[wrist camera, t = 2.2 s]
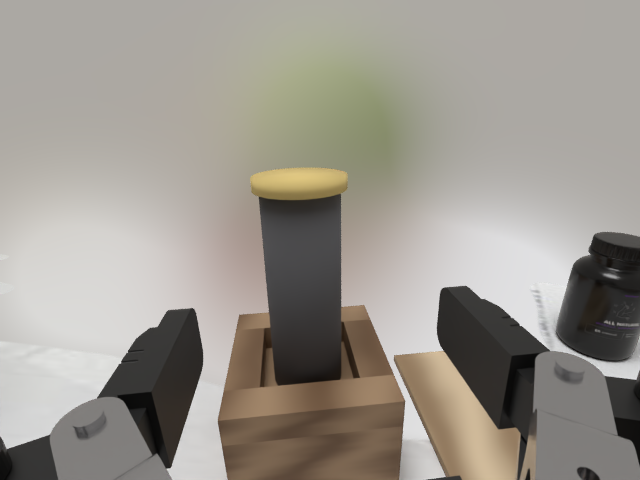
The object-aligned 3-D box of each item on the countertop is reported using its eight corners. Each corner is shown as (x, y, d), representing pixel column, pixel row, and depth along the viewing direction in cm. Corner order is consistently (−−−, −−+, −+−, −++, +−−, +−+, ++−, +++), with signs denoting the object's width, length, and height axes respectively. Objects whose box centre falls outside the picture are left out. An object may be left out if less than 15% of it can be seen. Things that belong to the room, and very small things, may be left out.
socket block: (233, 513, 23) (217, 420, 20) (248, 387, 33) (239, 314, 30) (397, 492, 24) (405, 401, 21) (362, 376, 34) (364, 305, 31)
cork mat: (458, 502, 23) (459, 496, 23) (393, 360, 36) (394, 355, 36) (651, 477, 24) (654, 470, 24) (521, 348, 37) (522, 343, 37)
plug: (254, 370, 26) (232, 176, 21) (312, 338, 30) (306, 164, 25) (301, 417, 22) (288, 190, 17) (363, 373, 26) (367, 174, 21)
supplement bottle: (610, 371, 34) (648, 258, 29) (541, 334, 39) (565, 234, 35) (647, 350, 36) (687, 244, 32) (577, 318, 42) (603, 224, 38)
